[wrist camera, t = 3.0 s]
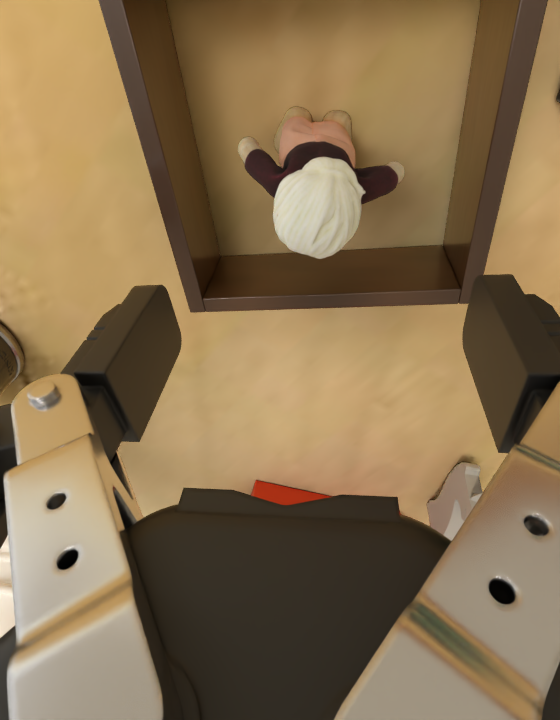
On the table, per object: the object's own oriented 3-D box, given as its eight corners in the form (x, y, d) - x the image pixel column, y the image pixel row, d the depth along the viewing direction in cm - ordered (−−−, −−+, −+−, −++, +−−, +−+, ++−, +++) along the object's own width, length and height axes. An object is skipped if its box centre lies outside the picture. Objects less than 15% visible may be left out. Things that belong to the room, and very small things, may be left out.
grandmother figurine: (261, 176, 26) (217, 283, 16) (253, 104, 23) (195, 180, 14) (389, 168, 25) (422, 278, 15) (395, 92, 22) (440, 166, 13)
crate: (210, 269, 30) (190, 312, 26) (138, -30, 20) (87, -36, 16) (456, 257, 28) (477, 303, 24) (519, -91, 18) (576, -116, 13)
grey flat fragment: (426, 503, 48) (464, 452, 41) (438, 505, 48) (478, 454, 41) (435, 554, 43) (479, 506, 37) (448, 556, 43) (494, 509, 37)
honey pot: (124, 520, 58) (60, 681, 44) (76, 542, 64) (7, 689, 51) (39, 475, 52) (-65, 644, 38) (-5, 503, 58) (-107, 657, 45)
